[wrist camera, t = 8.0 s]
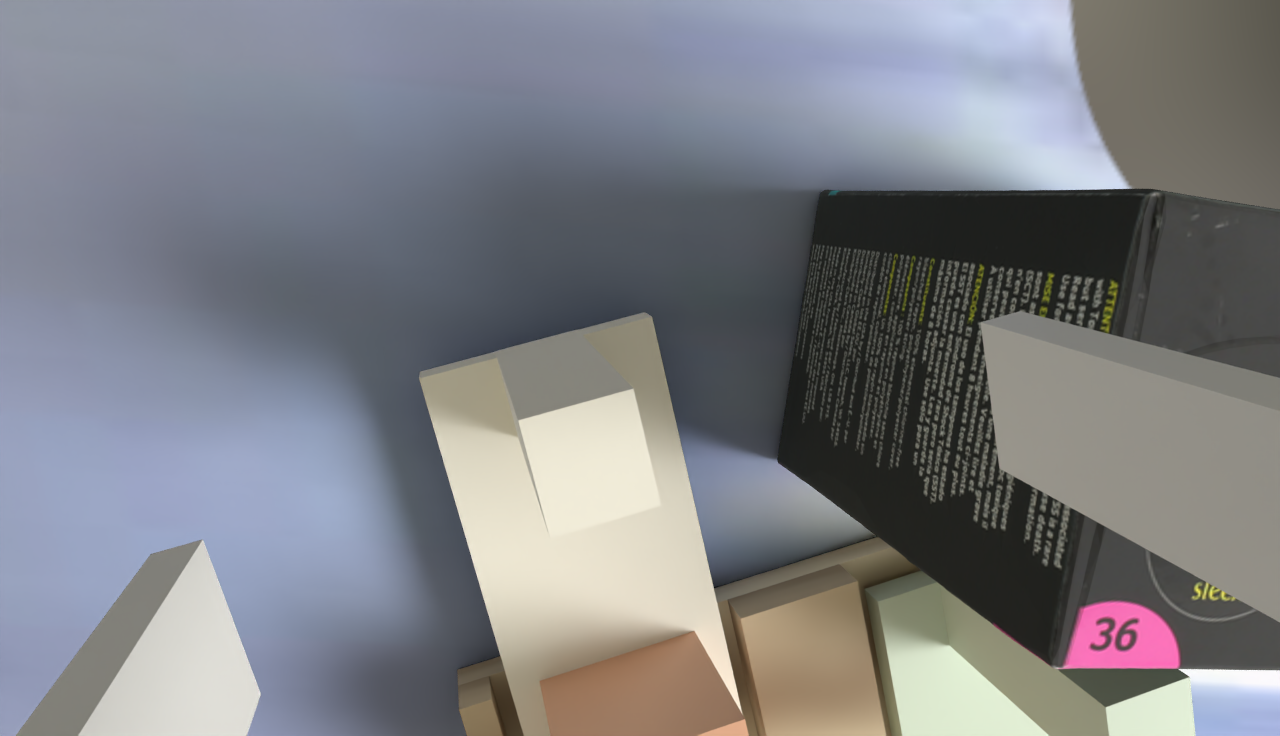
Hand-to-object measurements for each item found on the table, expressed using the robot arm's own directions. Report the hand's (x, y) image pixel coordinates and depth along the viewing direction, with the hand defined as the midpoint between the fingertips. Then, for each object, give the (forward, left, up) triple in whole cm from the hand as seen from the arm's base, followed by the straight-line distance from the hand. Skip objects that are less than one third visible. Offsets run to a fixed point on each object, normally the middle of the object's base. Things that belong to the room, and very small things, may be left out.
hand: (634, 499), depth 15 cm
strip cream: (+7, 0, -13) cm, 15 cm away
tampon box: (+3, +13, -14) cm, 20 cm away
